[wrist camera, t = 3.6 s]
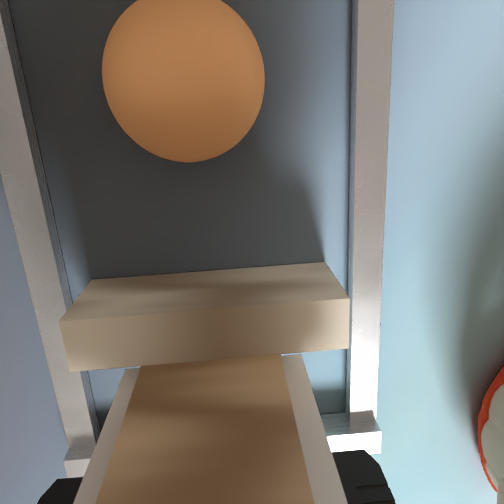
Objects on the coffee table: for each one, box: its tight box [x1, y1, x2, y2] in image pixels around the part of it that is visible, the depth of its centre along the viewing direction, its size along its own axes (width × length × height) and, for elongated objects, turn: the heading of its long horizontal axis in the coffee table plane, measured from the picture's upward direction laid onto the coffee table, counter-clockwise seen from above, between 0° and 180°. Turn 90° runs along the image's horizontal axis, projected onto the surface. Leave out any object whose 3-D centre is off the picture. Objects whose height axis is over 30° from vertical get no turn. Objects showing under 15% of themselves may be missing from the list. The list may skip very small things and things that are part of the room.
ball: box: [102, 0, 265, 162], centre depth 11 cm, size 4×4×4 cm
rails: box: [0, 0, 394, 478], centre depth 13 cm, size 12×20×1 cm, turn 3°
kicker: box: [58, 262, 350, 504], centre depth 9 cm, size 8×6×12 cm
